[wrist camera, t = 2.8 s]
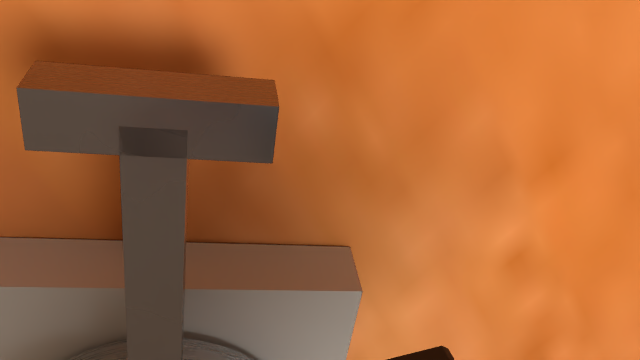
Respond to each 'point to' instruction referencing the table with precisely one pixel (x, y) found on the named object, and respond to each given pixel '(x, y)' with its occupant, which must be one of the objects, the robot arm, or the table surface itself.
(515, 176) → the table surface
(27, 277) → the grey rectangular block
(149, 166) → the grey t-handle
